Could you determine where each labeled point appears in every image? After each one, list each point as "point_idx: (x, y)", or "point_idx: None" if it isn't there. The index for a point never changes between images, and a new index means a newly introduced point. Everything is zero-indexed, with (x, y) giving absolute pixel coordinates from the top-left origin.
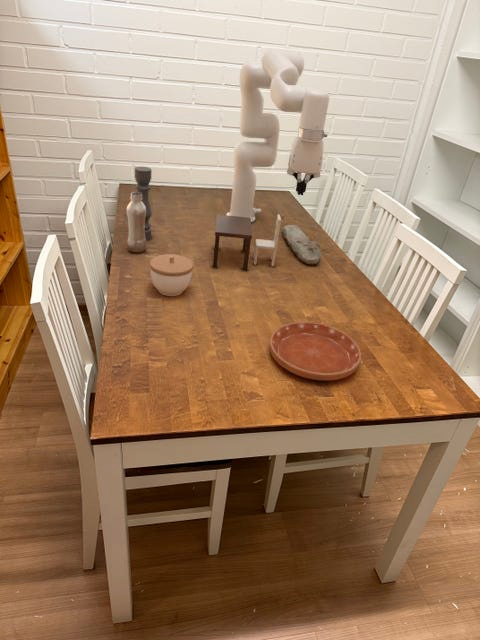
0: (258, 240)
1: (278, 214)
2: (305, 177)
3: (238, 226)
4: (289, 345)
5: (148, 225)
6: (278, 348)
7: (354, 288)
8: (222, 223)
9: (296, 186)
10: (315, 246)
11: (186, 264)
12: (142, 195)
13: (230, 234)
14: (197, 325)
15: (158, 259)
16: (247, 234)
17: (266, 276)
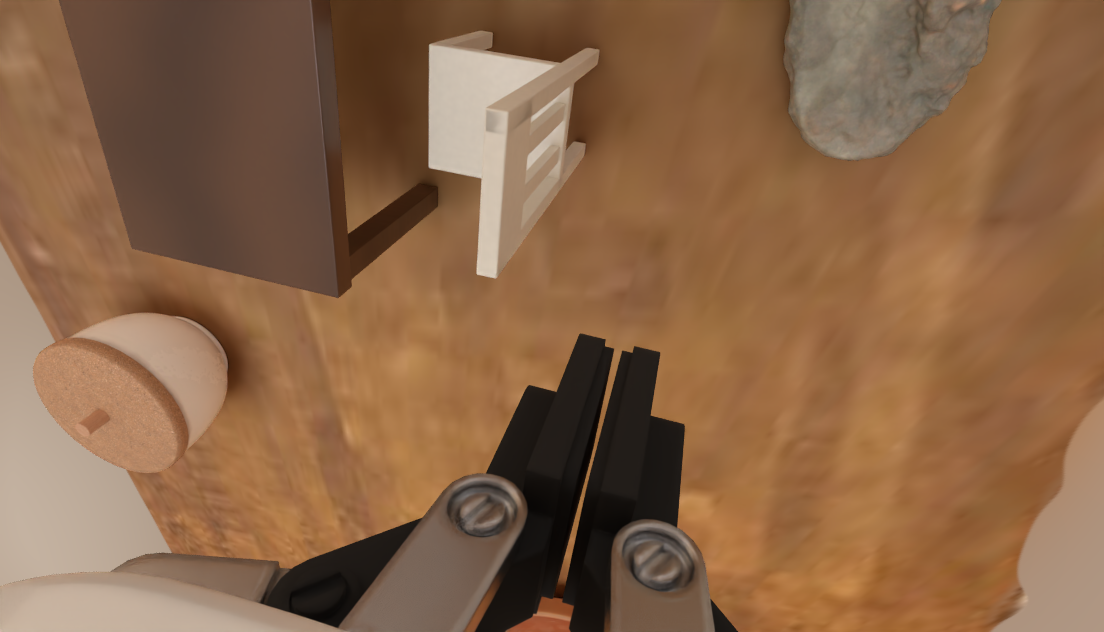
0: (445, 75)
1: (492, 123)
2: (630, 619)
3: (235, 142)
4: (519, 627)
5: None
6: None
7: (961, 395)
8: (123, 91)
9: (511, 429)
10: (965, 5)
11: (152, 433)
12: None
13: (219, 265)
14: (307, 510)
15: (54, 393)
16: (310, 282)
17: (526, 262)
